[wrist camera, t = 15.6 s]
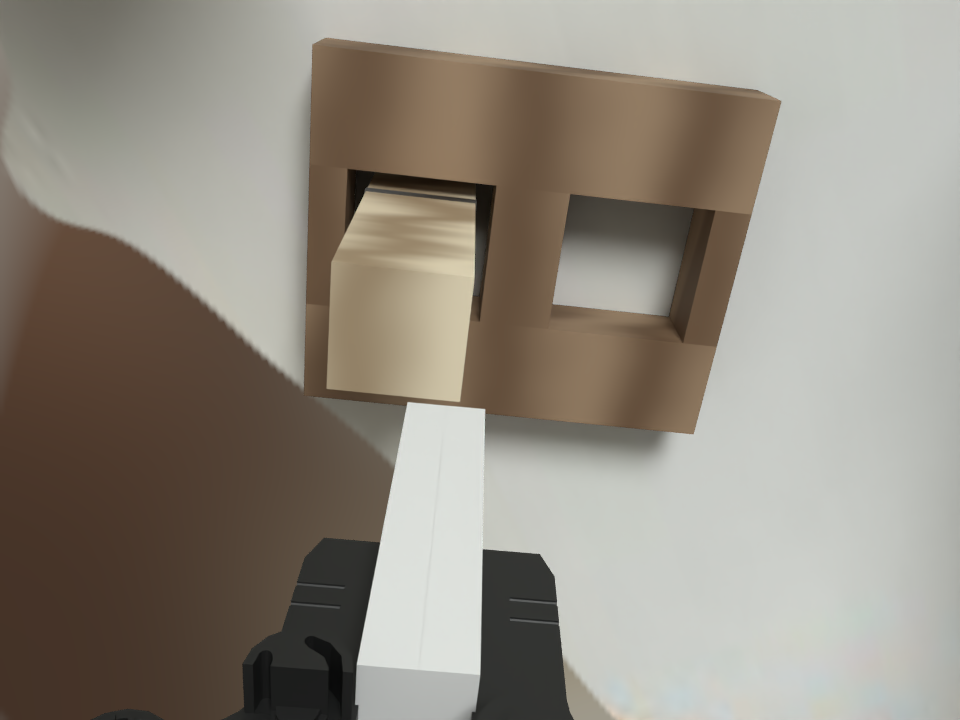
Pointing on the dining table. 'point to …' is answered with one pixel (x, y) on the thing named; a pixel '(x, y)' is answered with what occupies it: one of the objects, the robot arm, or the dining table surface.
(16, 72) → the dining table surface
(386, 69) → the walnut board
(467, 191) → the beech peg
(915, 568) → the dining table surface
